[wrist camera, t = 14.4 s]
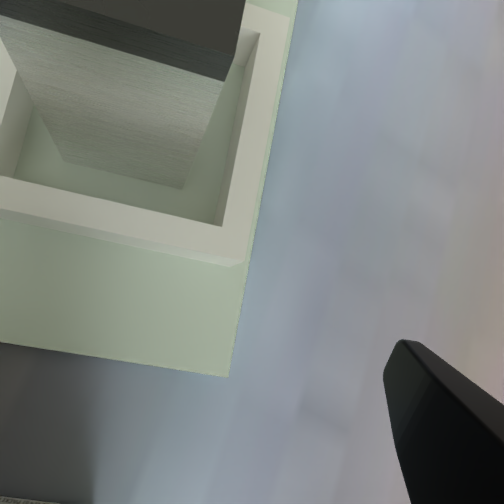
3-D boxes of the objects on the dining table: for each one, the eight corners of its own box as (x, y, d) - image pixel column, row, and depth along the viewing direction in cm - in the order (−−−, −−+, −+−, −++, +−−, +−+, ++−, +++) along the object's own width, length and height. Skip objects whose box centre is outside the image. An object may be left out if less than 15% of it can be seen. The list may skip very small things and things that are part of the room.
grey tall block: (181, 189, 18) (234, 56, 8) (63, 161, 17) (-34, -28, 7) (204, 86, 19) (275, -149, 9) (91, 53, 18) (36, -251, 8)
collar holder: (225, 375, 18) (242, 389, 15) (-80, 327, 16) (-132, 332, 13) (298, -18, 21) (325, -71, 18) (50, -109, 19) (33, -189, 16)
